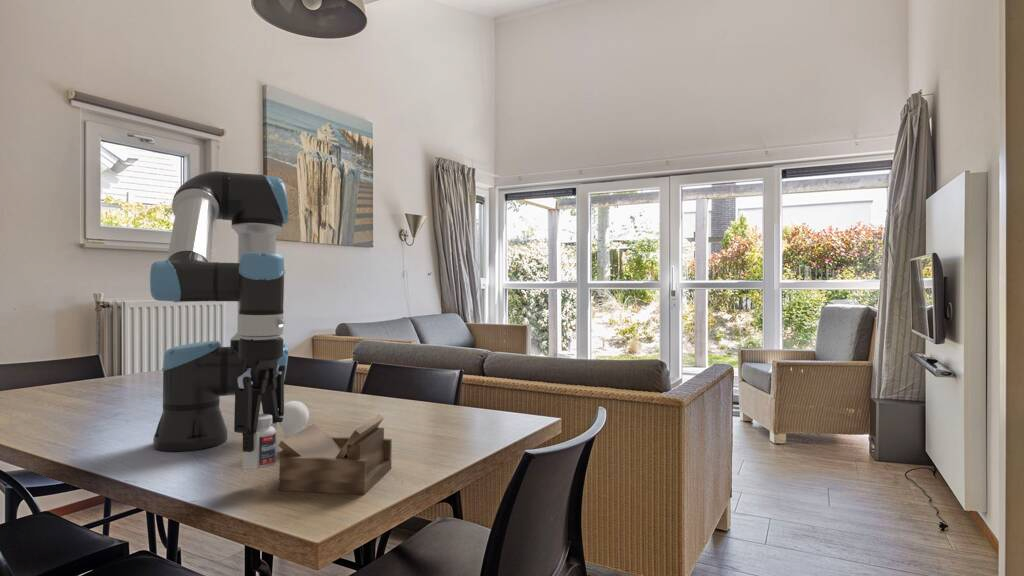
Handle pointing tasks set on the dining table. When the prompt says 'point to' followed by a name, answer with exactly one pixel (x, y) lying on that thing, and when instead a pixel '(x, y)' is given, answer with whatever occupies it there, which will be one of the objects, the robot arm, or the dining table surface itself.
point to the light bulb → (294, 417)
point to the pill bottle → (266, 441)
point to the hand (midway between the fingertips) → (260, 462)
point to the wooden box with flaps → (335, 460)
